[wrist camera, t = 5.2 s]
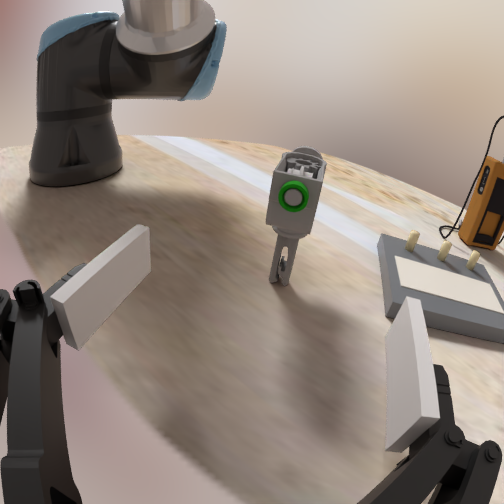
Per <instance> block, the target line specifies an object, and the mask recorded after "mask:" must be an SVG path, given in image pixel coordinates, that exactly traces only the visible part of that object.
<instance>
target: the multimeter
mask: <svg viewBox="0 0 504 504" xmlns="http://www.w3.org/2000/svg"><path fill="white" fill-rule="evenodd" d="M502 118H504V116H501V117H500V118H499V119H498V120H497V121H496V123H495V125H494V127H493V130H492V133H491V137H490V141H489V145H488V149H487V152H486V155H485V158H484V161H483V163H482V165H481V168H480V170H479V172H478V174H477V176H476V178H475V180H474V182H473V185H472V187H471V189H470V192H469V194H468V196H467V199H466V201H465V204H464V206H463V208H462V210H461V212H460V214H459V216H458V218H457V220H456V222H455V224H454V226H453V227H452V226H441V227H440V228H439V231H440V234H441V235H442V237H443V238H445V239H446V238H447V237H448V236H449V235H450V234H451V232H452V231H453V229H457V230H459V229H460V230H459V232H458V235H459V237H460V238H461V239H462V240H463V241H464V242H465V243H466V244H467V245H469V246H471V245H474V246H479V247H484V248H488V249H489V250H494V249H495V248H496V246H497V244H500V243H501V241H502V240H503V238H504V236H503V237H502V239H501V240H500V238H501V235H502V233H503V231H504V159H503V162H500V161H498V160H496V159H494V158H492V157H490V156H487V154H488V151H489V147H490V144H491V140H492V135H493V132H494V129H495V127H496V125H497V123H498V122H499V121H500V120H501V119H502ZM479 174H480V175H479ZM478 176H479V178H478ZM477 178H478V181H477V184H476V187H475V190H474V193H473V195H472V198H471V201H470V204H469V207H468V209H467V212H466V215H465V217H464V220H463V223H462V219H461V220H460V221H459V228H455V226H456V224H457V222H458V220H459V218H460V216H461V214H462V212H463V210H464V207H465V205H466V203H467V201H468V198H469V196H470V193H471V191H472V188H473V186H474V184H475V182H476V180H477ZM461 224H462V225H461ZM460 226H461V228H460ZM443 227H449V228H452V229H451V231H450V232H449V234H448V235H447V236H446V237H445V236H443V234H442V232H441V228H443ZM499 240H500V242H499ZM498 242H499V243H498Z"/></svg>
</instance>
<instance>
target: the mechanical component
mask: <svg viewBox="0 0 504 504" xmlns="http://www.w3.org/2000/svg"><path fill="white" fill-rule="evenodd" d="M326 165H327V163H326V162H325V161H324V160H323V159H322V156H321V154H320V153H319V152H318V151H317V150H316V149H314V148H312V147H308V146H300V147H297V148H296V149H294V150H293V151H292V152H286V153H283V154H282V159H281V161H280V162H279V164H278V165H277V167H276V168H275V170H274V172H273V178H272V184H271V190H270V195H269V203H268V209H267V215H266V224H267V225H272V227H273V230H274V231H275V232H276V233H277V234H278V237H277V242H276V247H275V252H274V257H273V262H272V267H271V272H270V277H269V281H270V283H273V282H276V281H278V278H279V275H280V276H281V277H282V278H283V280H282V284H283V285H284V286H286V285H287V284H288V282H289V278H290V274H291V270H292V266H293V262H294V258H295V254H296V250H297V245H298V241H299V239H300V238H304V237H305V236H306V235H307V234H310V232H311V229H312V225H313V221H314V217H315V213H316V209H317V205H318V200H319V196H320V192H321V188H322V183H323V178H324V174H325V169H326ZM284 246H286V247H288V259H287V261H284V256H282V259H281V262H280V257H281V252H282V249H283V247H284ZM279 262H280V265H279ZM278 266H279V268H278Z"/></svg>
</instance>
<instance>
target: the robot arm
mask: <svg viewBox="0 0 504 504" xmlns="http://www.w3.org/2000/svg"><path fill="white" fill-rule="evenodd" d="M122 1H123V6H124V10H125V12H124V13H123V14H122V15H121V17H120V18H119V15H118V14H116V13H114V12H96V13H85V14H80V15H76V16H72V17H69V18H66V19H63V20H60V21H58V22H56V23H54V24H52V25H51V26H49V27H48V28H47V29H46V30H45V31H44V33H43V34H42V36H41V40H40V46H39V53H38V55H37V61H38V65H37V130H36V134H35V138H34V142H33V147H32V153H31V159H30V162H29V171H30V179H31V181H32V182H34V183H36V184H39V185H43V186H67V185H75V184H81V183H86V182H90V181H94V180H98V179H101V178H104V177H106V176H109V175H111V174H113V173H115V172H116V171H118V170H119V169H120V168H121V167H122V149H121V147H120V145H119V143H118V139H117V135H116V131H115V127H114V124H113V121H112V116H111V109H112V99H163V100H178V101H184V100H201V99H204V98H206V97H207V96H208V95H209V94H210V93H211V91H212V89H213V86H214V83H215V80H216V76H217V72H218V68H219V62H220V59H221V56H222V52H223V47H224V42H225V37H226V24H225V23H224V22H222V21H219V20H218V19H215V13H214V10H213V8H212V7H211V6H210V5H209V4H208V3H207V2H206V1H204V0H122ZM150 272H151V255H150V228H149V227H146V226H143V225H139V224H137V225H136V226H134V227H133V228H132V229H130V230H129V231H128V232H127V233H125V234H124V235H123V236H121V237H120V238H119V239H118V240H116V241H115V242H114V243H113V244H111V245H110V246H109V247H108V248H106V249H105V250H104V251H103V252H102V253H100V254H99V255H98V256H97V257H95V258H94V259H93V260H92V261H91V262H89V263H88V264H85V263H83V264H81V265H78V266H76V267H74V268H73V269H72V270H70V271H69V272H68V273H67V275H65V276H63V277H62V278H61V280H59V281H58V282H56V283H55V284H54V285H53V286H52V287H51V288H49V289H48V290H47V291H46V292H45V293H44V294H42V291H41V288H40V284H39V283H38V282H37V281H35V280H25V281H22V282H21V283H19V284H18V285H17V286H15V288H14V290H13V293H14V296H15V298H16V300H12V299H11V298H10V295H9V293H8V292H7V291H6V290H3V289H0V424H1V420H2V415H3V411H4V408H5V404H6V400H7V397H8V400H7V445H8V453H7V456H5V457H3V458H2V460H1V479H2V488H3V497H4V504H82V500H81V496H80V493H79V491H78V489H77V487H76V485H75V483H74V480H73V477H72V472H71V467H70V461H69V454H68V448H67V440H66V433H65V424H64V414H63V404H62V388H61V360H60V341H59V339H60V338H61V337H62V336H64V338H65V341H66V343H67V344H68V345H70V346H71V347H73V348H75V349H77V350H78V351H79V350H80V349H81V348H82V346H83V345H84V344H85V343H86V342H87V341H88V340H89V338H90V337H91V336H92V335H93V334H94V333H95V332H96V330H97V329H98V328H99V327H100V326H101V325H102V324H103V323H104V321H105V320H106V319H107V318H108V317H109V316H110V315H111V314H112V313H113V311H114V310H115V309H116V308H117V307H118V306H119V305H120V304H121V303H122V302H123V301H124V299H125V298H126V297H127V296H128V295H129V294H130V293H131V292H132V291H133V290H134V289H135V288H136V287H137V285H138V284H139V283H140V282H141V281H142V280H143V279H144V278H145V277H146V276H147V275H148V274H149V273H150ZM385 345H386V374H387V415H386V443H385V451H392V452H401V453H402V452H403V451H404V450H405V449H407V448H408V447H409V455H408V456H407V457H406V458H404V459H403V460H402V461H400V462H399V463H398V464H396V465H397V467H396V468H395V469H394V470H393V471H392V472H391V473H390V474H389V475H388V476H387V477H386V478H385V479H384V480H383V481H382V482H381V483H379V484H378V485H377V486H376V487H375V488H374V489H373V490H372V491H371V492H370V493H369V494H367V495H366V496H365V497H364V498H363V499H362V500H361V501H359V502H358V503H357V504H421V503H422V502H423V501H424V500H425V498H426V497H427V496H428V495H429V494H430V492H431V491H432V490H433V489H434V487H435V486H436V485H437V486H436V488H435V490H434V492H433V494H432V497H431V499H430V500H429V502H428V504H489V502H490V499H491V496H492V493H493V490H494V486H495V483H496V480H497V476H498V473H499V469H500V465H501V461H502V452H501V449H500V447H499V445H498V444H497V443H495V442H494V441H491V440H489V441H485V442H484V443H483V444H481V445H480V446H479V445H477V444H474V443H472V442H470V441H467V440H466V439H465V436H464V433H463V431H462V430H461V429H460V428H459V427H458V426H456V425H455V420H454V412H453V405H452V398H451V396H450V394H451V392H450V387H449V386H450V385H449V379H448V375H447V373H446V371H445V370H444V368H443V366H441V365H436V364H433V361H432V355H431V349H430V344H429V338H428V333H427V328H426V324H425V319H424V314H423V310H422V306H421V301H420V300H419V299H415V298H411V297H408V296H406V298H405V300H404V302H403V304H402V306H401V308H400V310H399V312H398V314H397V316H396V318H395V320H394V321H393V323H392V325H391V327H390V329H389V331H388V332H387V334H386V336H385Z"/></svg>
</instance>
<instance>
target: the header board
mask: <svg viewBox="0 0 504 504" xmlns="http://www.w3.org/2000/svg"><path fill="white" fill-rule="evenodd" d="M419 235H420V233H419V232H417V231H415V230H411V233H410V235H409V238H408V240H407V241H406V240H402V239H399V238H396V237H392V236H389V235H385V234H382V233H381V236H380V239H379V242H378V244H377V247H378V254H379V261H380V269H381V277H382V285H383V295H384V305H385V316H386V317H390V318H394V319H395V318H396V316H397V314H398V312H399V310H400V308H401V306H402V304H403V302H404V300H405V298H406V296H408V297H411V298H415V299H419V300H420V301H421V306H422V310H423V314H424V319H425V324H426V326H428V327H432V328H436V329H440V330H445V331H449V332H453V333H458V334H462V335H467V336H471V337H475V338H480V339H485V340H489V341H494V342H498V343H503V344H504V302H503V300H502V298H501V296H500V294H499V292H498V290H497V288H496V287H495V285H494V283H493V281H492V279H491V278H490V276H489V274H488V272H487V271H486V269H485V267H484V265H481V264H479V263H477V261H478V259H479V257H480V253H479V252H478V251H476V250H473V252H472V254H471V256H470V258H469V260H466V259H463V258H460V257H457V256H454V255H451V254H448V253H449V250H450V248H451V246H452V244H451V243H450V242H449V241H446V240H444V242H443V244H442V246H441V249H440V251H439V250H435V249H432V248H429V247H426V246H422V245H419V244H416V243H417V240H418V238H419Z"/></svg>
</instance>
